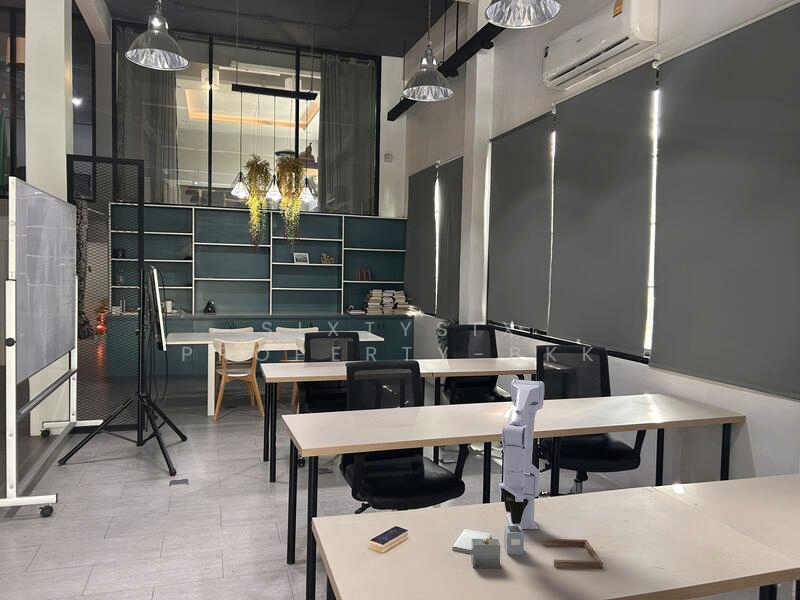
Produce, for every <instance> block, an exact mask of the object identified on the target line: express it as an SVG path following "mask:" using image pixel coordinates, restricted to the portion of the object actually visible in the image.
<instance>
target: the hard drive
mask: <svg viewBox="0 0 800 600" xmlns="http://www.w3.org/2000/svg"><path fill="white" fill-rule="evenodd" d="M472 539H492V533H489V532H485V531H478V530H474V529H467V528H465V529H463V530H462V532H461V533H460V535H459V537H458V538H457V539H456V541H455V542H454V543H453V545H452V546H451V550H452V551H453V552H454V551H455V552H459V553H465V554H470V555H471V551H472Z"/></svg>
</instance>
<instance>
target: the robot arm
mask: <svg viewBox="0 0 800 600" xmlns="http://www.w3.org/2000/svg"><path fill="white" fill-rule="evenodd" d="M510 397H511V401H512V402H511V403H513V406H514V407H515V408H512V409H511V410H510V413H509V415H508V419H507V423H506V426H503V428H502V432H501V443H502V452H503V474H502V476H503V479H502V480H503V481H502V482H499V483H498V487H499V488H500V490H501V493H502V497H503V502H504V508H505V512H506V513H508V514H506V515H505V517H506V520H507V522H508V524H509V526H521V528H522V530H538V529H539V527H538V525H537V524H536V522H535V505H536V504H535V502H536V501H535V500H536V497H537V498H538V496H539V495H540V491H541V473H540V470H539V469H538V468H537V467H536V466H535V465H534V464H533V462H532V461H533V449H534V436H535V435H534V433H535V432H534V431H535V418H536V414H537V411H539V410H541V409H543V406H544V400H545V399H544V398H545V382H543V381H540V380H539V381H537V380H535V381H534V380H524V379H516V378H514V379H513V380H511V383H510Z"/></svg>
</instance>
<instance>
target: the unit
mask: <svg viewBox="0 0 800 600" xmlns="http://www.w3.org/2000/svg"><path fill="white" fill-rule="evenodd" d="M470 555H471V561H472V562H471V564H472V565H473V566H472V568H474V569H476V568H479V569H480V568H481V567H482V568H481V569H500V568H501V543H500V540H499V539H498V538H490V539H472V551H471V554H470ZM484 567H485V568H484Z"/></svg>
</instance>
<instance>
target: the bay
mask: <svg viewBox="0 0 800 600" xmlns="http://www.w3.org/2000/svg"><path fill="white" fill-rule="evenodd" d="M541 540H542V543H541V544H542V546H545V547H549V546H550V547H584V549H585V550H586V552H587V551H588V552H587V553H588V554H589V556H590V558H591V559H592V560H589V559H587V560H583V559H582V560H581V559H580V560H579V559H553V567H554V568H571V569H572V568H575V569H576V568H581V569H603V563H604V562H603V561H602V560H601V558H600V556H599V555H598V554H597V552H596V550H594V547H592V545H591V544H590V542H589V541H588V539H582V538H581V539H572V538H571V539H570V538H569V539H568V538H567V539H565V538H560V539H559V538H542V539H541Z"/></svg>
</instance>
